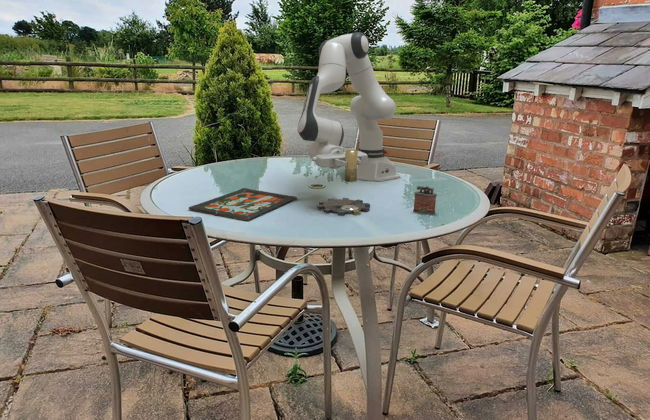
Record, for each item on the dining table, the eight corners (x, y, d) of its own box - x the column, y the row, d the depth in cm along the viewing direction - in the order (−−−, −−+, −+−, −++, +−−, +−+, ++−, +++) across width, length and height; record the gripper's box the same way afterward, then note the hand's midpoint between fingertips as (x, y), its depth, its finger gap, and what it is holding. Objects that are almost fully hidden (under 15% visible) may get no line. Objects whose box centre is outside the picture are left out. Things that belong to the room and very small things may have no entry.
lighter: (435, 212, 180) (437, 186, 177) (434, 214, 177) (436, 188, 174) (413, 210, 183) (415, 184, 180) (412, 212, 179) (414, 186, 177)
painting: (299, 201, 196) (299, 196, 195) (249, 225, 166) (249, 218, 165) (242, 191, 207) (242, 186, 206) (186, 212, 177) (185, 205, 176)
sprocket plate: (352, 198, 197) (352, 195, 196) (380, 211, 180) (380, 208, 180) (308, 204, 188) (308, 201, 187) (333, 218, 171) (334, 214, 171)
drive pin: (352, 178, 180) (353, 149, 176) (358, 181, 176) (360, 151, 173) (342, 179, 178) (343, 150, 174) (348, 182, 174) (349, 152, 171)
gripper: (309, 150, 180) (327, 156, 169) (356, 147, 190) (376, 153, 178) (309, 167, 182) (326, 174, 170) (355, 163, 191) (375, 169, 180)
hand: (352, 163), depth 174 cm, fingers closed on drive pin, 4 cm apart
